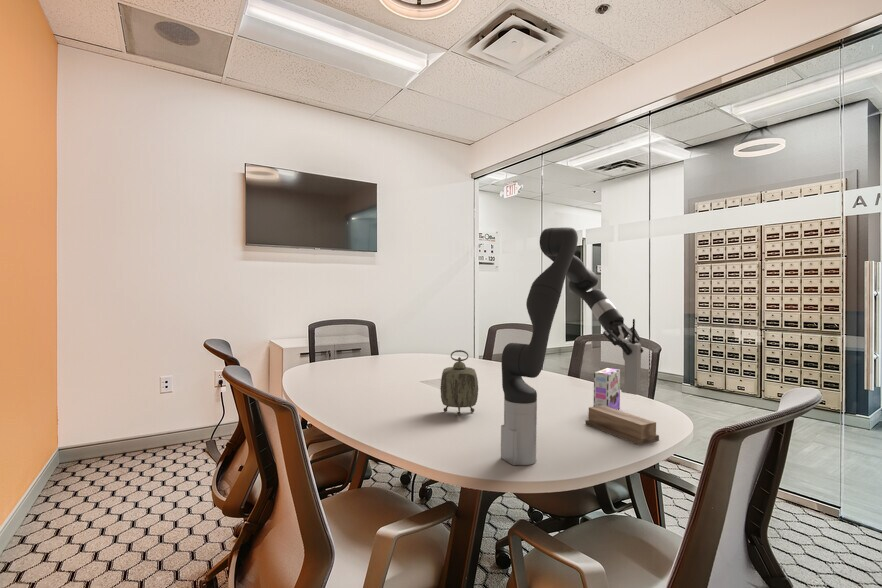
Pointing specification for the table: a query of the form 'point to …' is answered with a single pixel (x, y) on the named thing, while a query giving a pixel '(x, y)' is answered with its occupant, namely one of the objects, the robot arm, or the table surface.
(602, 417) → the walnut ridge
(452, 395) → the tabletop clock
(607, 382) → the candy box
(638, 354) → the vintage mobile phone
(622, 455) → the table surface
